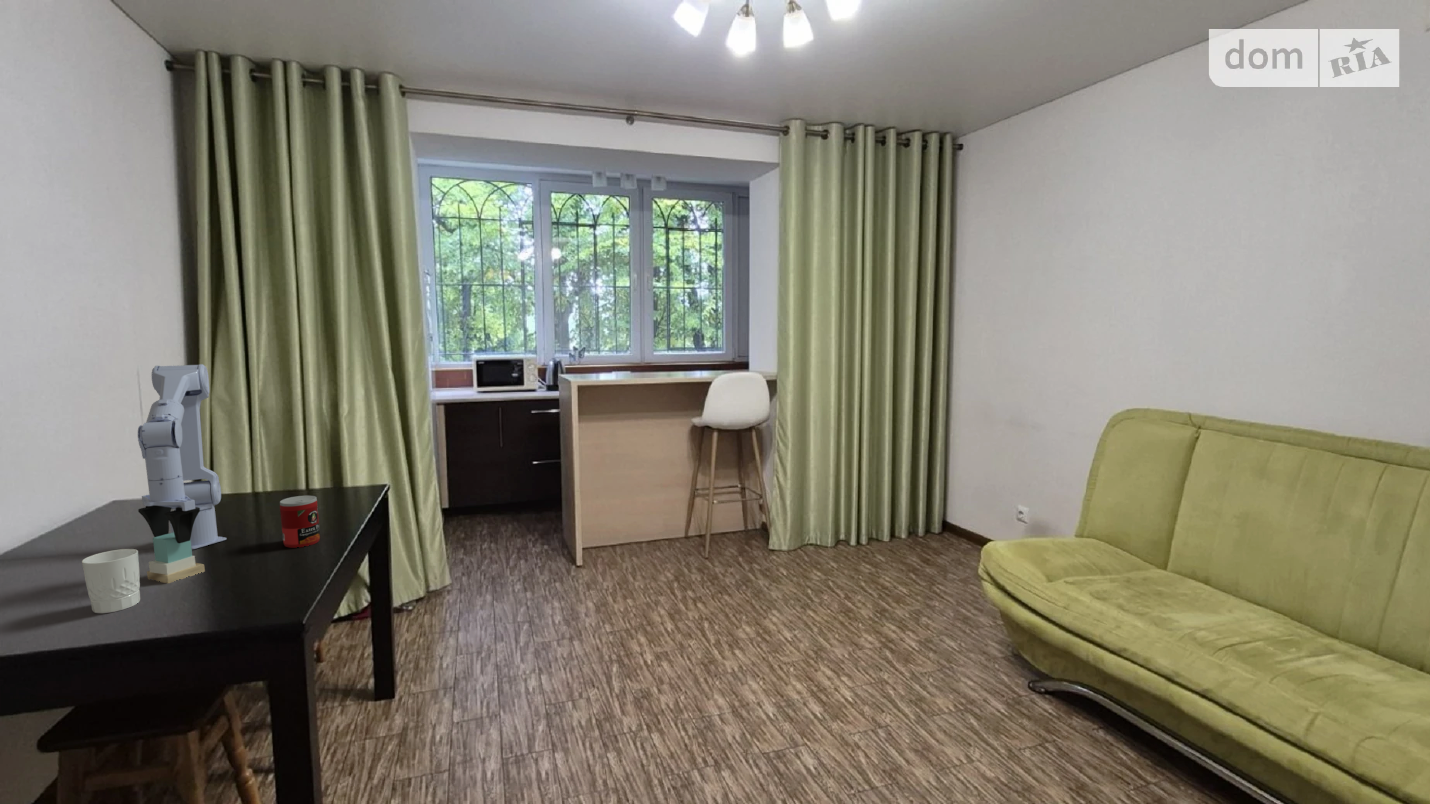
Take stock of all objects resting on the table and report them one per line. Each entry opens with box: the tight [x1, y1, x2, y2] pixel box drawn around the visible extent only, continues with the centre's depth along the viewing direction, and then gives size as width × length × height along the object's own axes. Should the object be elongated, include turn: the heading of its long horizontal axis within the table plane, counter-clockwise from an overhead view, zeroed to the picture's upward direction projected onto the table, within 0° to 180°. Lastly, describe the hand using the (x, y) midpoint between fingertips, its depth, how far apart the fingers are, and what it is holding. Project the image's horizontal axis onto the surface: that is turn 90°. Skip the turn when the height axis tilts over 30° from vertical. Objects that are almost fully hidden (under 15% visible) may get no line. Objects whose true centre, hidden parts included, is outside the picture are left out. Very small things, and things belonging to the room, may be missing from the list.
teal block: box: [152, 532, 193, 563], centre depth 139 cm, size 4×4×5 cm
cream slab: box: [148, 555, 196, 575], centre depth 139 cm, size 6×6×2 cm
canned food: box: [279, 495, 321, 549], centre depth 160 cm, size 8×8×11 cm
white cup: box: [81, 548, 141, 614], centre depth 124 cm, size 8×8×10 cm
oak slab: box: [146, 562, 206, 584], centre depth 140 cm, size 7×7×2 cm
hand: (172, 539), depth 139 cm, fingers open, 7 cm apart
